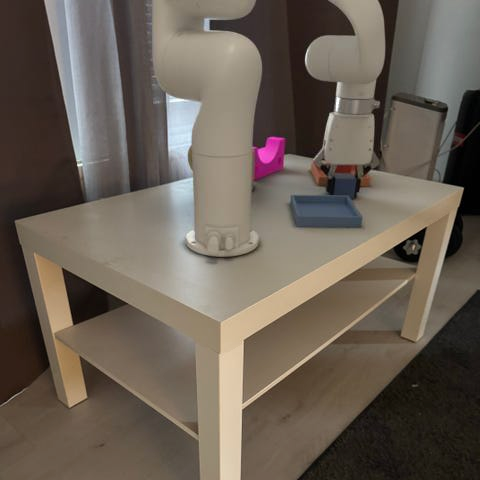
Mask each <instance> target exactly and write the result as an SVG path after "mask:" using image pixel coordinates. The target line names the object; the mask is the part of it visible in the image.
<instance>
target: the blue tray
mask: <svg viewBox="0 0 480 480" xmlns="http://www.w3.org/2000/svg"><path fill="white" fill-rule="evenodd" d="M289 205H290V208H291V212H292V214H293V217H294V221H295V225H296V227H307V228H308V227H309V228H310V227H311V228H313V227H315V228H362V223H363V216H362V214H361V213H360V211H359V209H358V208H357V206H356V205H355V203H354V201H353V199H350V197H349V196H342V195H328V194H290V202H289Z"/></svg>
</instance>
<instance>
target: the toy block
mask: <svg viewBox="0 0 480 480" xmlns="http://www.w3.org/2000/svg"><path fill="white" fill-rule="evenodd" d="M285 147H286V138H284V137H277V136H270V137H267V138H266V142H265V146H263V147H261V148H258V147H256V146H252V149H254V151H255V168H254V181H256V180H258V179H261V178H264V177H266V176H268V175H270V174H274V173H276V172H278V171H281V170H284V164H285Z"/></svg>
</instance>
